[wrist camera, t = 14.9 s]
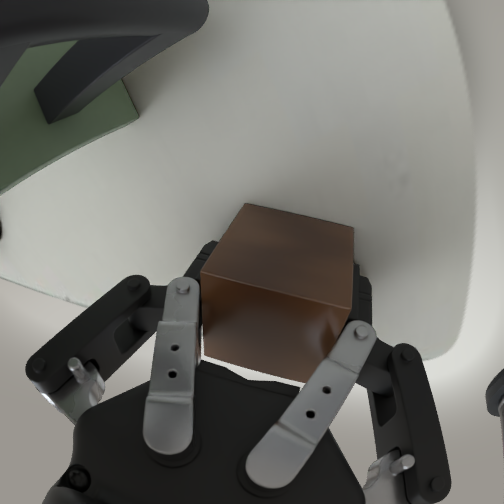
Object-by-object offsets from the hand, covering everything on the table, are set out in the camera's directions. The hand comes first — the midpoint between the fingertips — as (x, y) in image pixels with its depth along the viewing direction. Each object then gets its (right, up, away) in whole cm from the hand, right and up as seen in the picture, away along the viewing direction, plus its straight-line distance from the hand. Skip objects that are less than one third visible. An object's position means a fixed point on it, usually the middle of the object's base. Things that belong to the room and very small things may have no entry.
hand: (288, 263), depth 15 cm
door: (-7, +13, -7) cm, 17 cm away
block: (0, 0, 0) cm, 0 cm away
